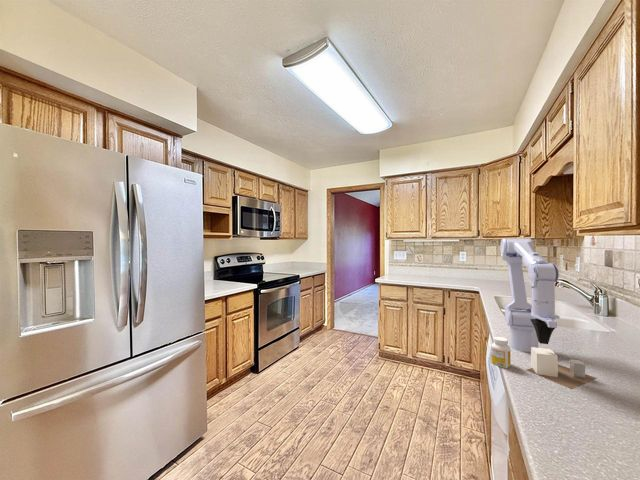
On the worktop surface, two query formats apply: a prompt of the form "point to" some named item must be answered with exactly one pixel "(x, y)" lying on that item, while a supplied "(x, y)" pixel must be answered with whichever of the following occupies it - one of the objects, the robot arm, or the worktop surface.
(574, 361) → the post
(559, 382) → the board
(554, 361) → the cream rectangular block
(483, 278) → the worktop surface
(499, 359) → the supplement bottle
